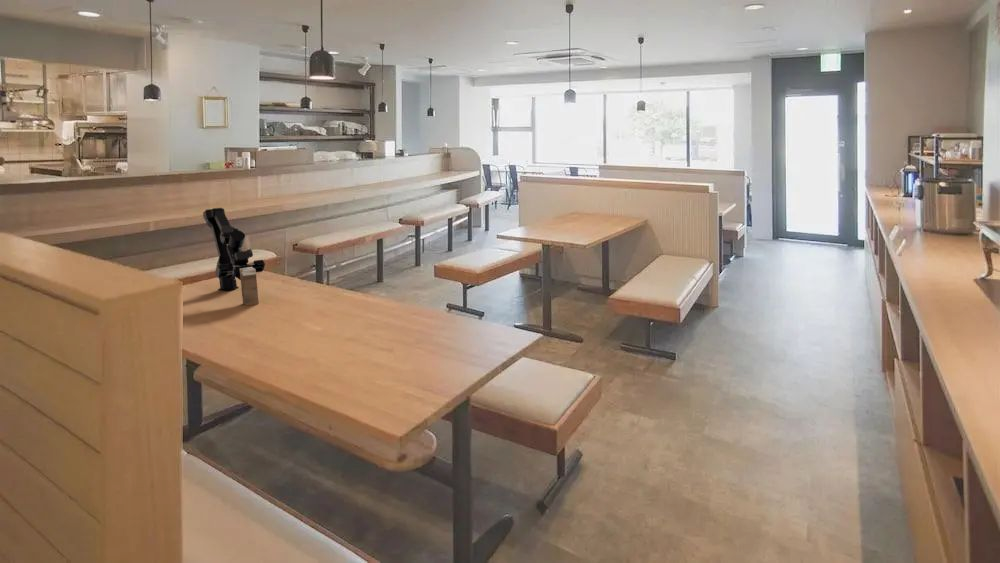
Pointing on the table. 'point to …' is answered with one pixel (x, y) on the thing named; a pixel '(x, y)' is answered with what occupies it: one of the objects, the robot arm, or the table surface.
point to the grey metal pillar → (249, 286)
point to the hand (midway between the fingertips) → (247, 284)
